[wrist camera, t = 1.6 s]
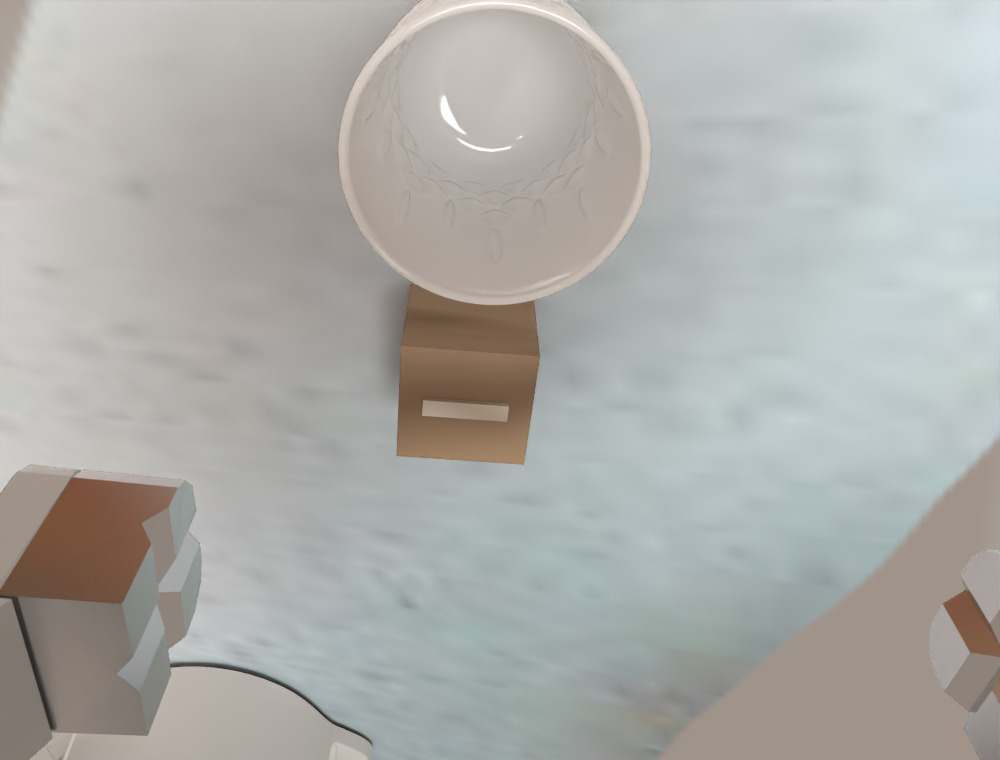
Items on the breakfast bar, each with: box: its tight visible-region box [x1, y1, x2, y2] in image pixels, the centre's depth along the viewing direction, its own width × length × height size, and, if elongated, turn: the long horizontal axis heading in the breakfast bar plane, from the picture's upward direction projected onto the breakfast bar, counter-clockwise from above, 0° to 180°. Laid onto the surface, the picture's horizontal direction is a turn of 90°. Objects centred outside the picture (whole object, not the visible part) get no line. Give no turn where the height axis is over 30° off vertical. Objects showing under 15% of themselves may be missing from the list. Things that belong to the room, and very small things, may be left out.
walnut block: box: [397, 284, 540, 465], centre depth 33 cm, size 5×5×5 cm
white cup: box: [338, 0, 651, 305], centre depth 25 cm, size 8×8×10 cm
